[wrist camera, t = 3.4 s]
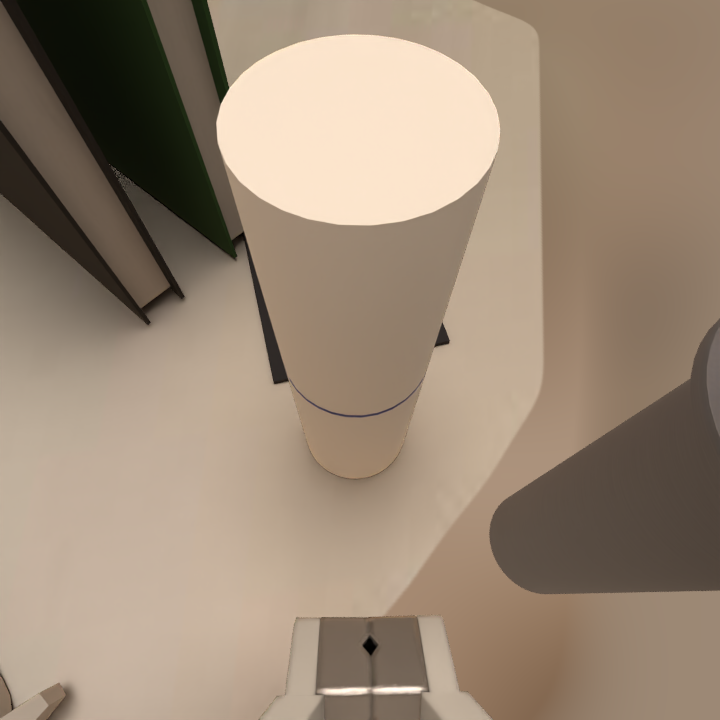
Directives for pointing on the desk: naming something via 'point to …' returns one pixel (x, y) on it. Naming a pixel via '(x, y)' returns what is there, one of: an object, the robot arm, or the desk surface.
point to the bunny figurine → (31, 704)
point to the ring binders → (114, 130)
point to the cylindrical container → (357, 223)
